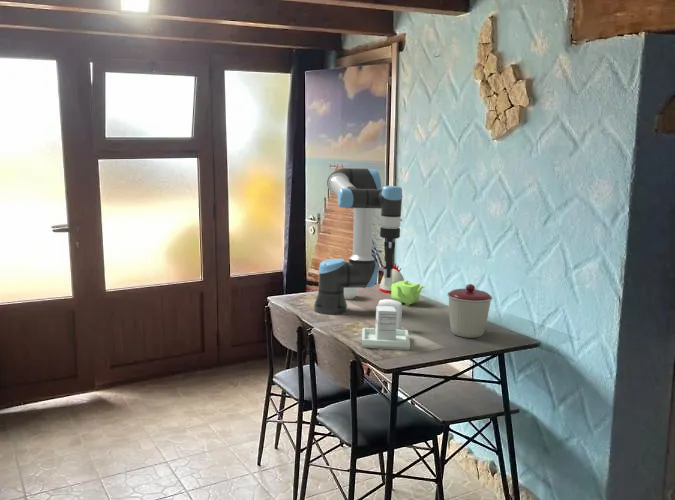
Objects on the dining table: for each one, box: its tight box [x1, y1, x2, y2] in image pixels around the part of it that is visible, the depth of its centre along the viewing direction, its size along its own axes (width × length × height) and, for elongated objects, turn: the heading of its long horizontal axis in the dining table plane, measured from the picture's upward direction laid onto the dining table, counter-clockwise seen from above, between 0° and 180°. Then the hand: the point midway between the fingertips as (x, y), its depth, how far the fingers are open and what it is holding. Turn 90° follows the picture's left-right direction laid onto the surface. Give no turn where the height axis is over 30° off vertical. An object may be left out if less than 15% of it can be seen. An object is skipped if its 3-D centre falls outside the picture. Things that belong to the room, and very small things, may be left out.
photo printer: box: [377, 298, 403, 330], centre depth 262 cm, size 10×4×12 cm, turn 72°
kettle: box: [388, 279, 426, 307], centre depth 306 cm, size 15×14×11 cm
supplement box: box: [375, 305, 397, 341], centre depth 243 cm, size 7×7×13 cm
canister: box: [447, 283, 494, 339], centre depth 257 cm, size 18×18×21 cm
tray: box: [361, 327, 411, 351], centre depth 244 cm, size 18×16×3 cm
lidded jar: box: [344, 288, 360, 300], centre depth 313 cm, size 11×11×9 cm
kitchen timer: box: [379, 263, 405, 295], centre depth 331 cm, size 14×14×15 cm
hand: (387, 281), depth 242 cm, fingers open, 13 cm apart
